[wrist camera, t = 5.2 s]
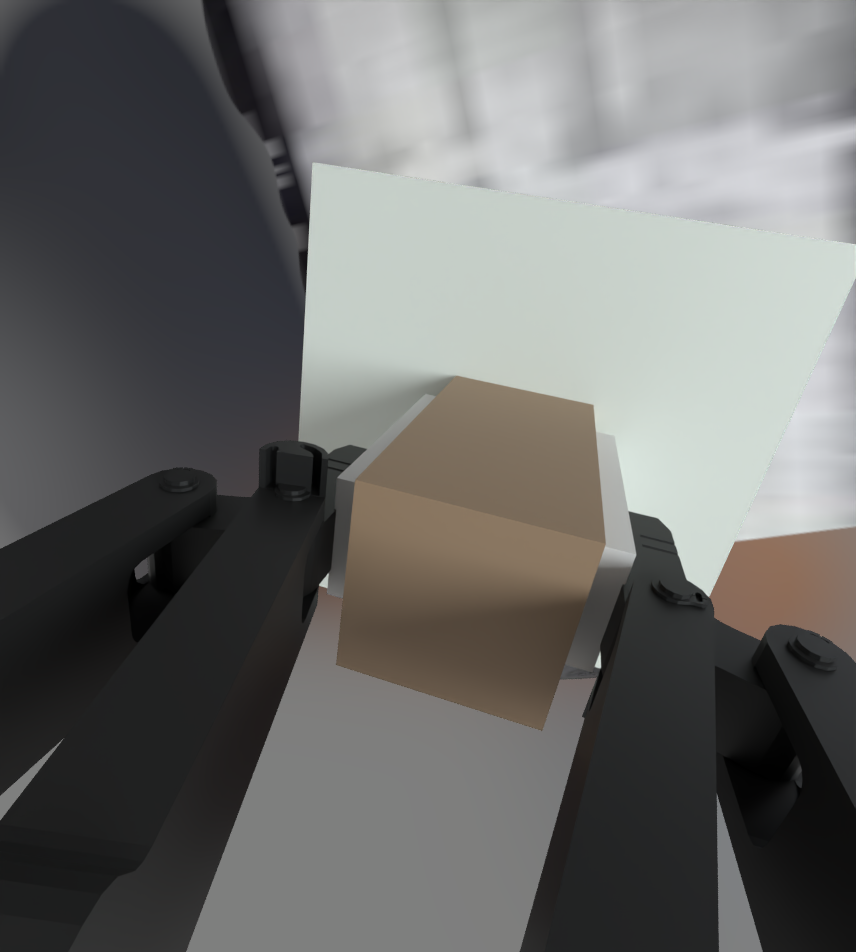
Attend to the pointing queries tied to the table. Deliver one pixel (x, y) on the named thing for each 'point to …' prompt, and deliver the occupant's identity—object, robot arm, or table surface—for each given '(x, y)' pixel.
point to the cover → (537, 408)
